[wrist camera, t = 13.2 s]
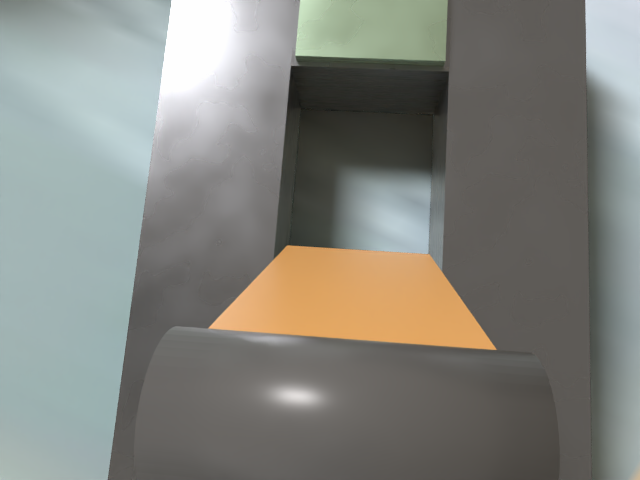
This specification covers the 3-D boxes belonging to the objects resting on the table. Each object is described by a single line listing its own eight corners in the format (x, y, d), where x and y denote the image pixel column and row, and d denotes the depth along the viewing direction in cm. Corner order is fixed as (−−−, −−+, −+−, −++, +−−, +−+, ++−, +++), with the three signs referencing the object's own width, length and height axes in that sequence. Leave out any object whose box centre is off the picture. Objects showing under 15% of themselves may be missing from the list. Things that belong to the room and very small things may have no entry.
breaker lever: (433, 318, 19) (547, 581, 7) (276, 307, 20) (133, 538, 8) (439, 246, 19) (570, 393, 7) (279, 236, 19) (134, 359, 7)
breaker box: (548, 620, 21) (600, 695, 16) (136, 575, 22) (82, 633, 17) (548, 36, 25) (589, -28, 20) (203, 25, 26) (173, -38, 22)
